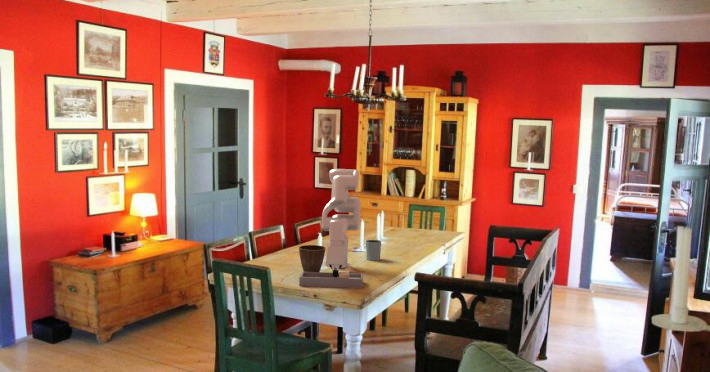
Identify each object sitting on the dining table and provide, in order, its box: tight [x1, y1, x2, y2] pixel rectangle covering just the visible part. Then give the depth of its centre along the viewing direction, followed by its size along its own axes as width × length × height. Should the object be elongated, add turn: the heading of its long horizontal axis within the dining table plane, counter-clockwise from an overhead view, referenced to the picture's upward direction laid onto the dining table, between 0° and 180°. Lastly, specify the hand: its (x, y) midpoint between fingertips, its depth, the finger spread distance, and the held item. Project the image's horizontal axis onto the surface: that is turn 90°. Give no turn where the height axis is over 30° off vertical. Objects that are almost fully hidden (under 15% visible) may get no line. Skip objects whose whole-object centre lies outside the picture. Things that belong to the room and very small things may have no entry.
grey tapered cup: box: [365, 239, 382, 262], centre depth 360 cm, size 10×10×12 cm
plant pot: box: [298, 244, 327, 272], centre depth 316 cm, size 15×15×16 cm
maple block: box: [339, 270, 349, 278], centre depth 299 cm, size 5×5×4 cm
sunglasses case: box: [339, 266, 361, 274], centre depth 317 cm, size 18×7×7 cm
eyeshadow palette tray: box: [298, 271, 364, 289], centre depth 300 cm, size 12×33×4 cm, turn 88°
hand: (335, 277), depth 299 cm, fingers closed
